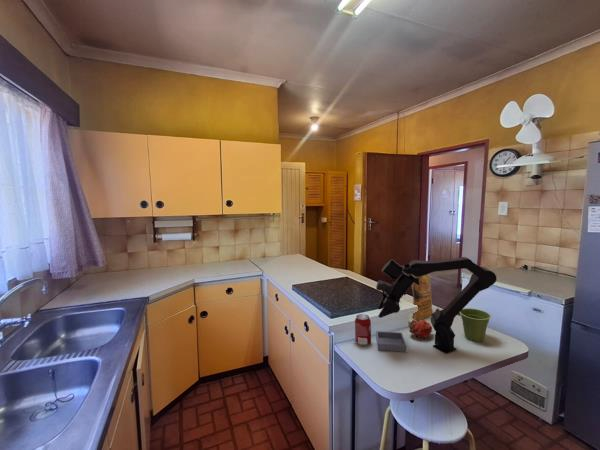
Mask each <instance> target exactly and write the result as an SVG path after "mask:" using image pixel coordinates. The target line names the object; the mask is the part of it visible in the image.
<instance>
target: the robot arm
mask: <svg viewBox="0 0 600 450" xmlns="http://www.w3.org/2000/svg"><path fill="white" fill-rule="evenodd" d="M462 269H464V270H467V271H469V272H470V273H472V274H471V275H470V279H469V280H468V284H467V285H466V286H464V288H463V289H462V290H461V291H460V292H459V293H458V294H456V296H455V297H454V298H453V299H452V300H451V301H450V303H449V304H448V305H447V306H446V307H445V308H442V309H439V308H436V309H435V311H434V312H433V314H431V317H430V323H431V324H430V325H431V327H432V329H434V331H435V333H434V344H433V345H432V347H433V348H435V349H436V350H437V351H440V352H441V353H444V354H446V355H447V354H450V353H452V352H455V351H457V348H456V347H455V337H456V334H455V332H454V330H453V329H452V326H453V323H454V320H455V318H456V317H457V315H458V314H460V313H459V312H460V311H461V310H462V309H465V307H466V306H467V305H468V304H469V303H470V302H471V301H472V300H473V299H474V298H475V297H476V295H478V294H479V293H480V292H482V291H484V290H487V289H489V288H490V287H491V286H493V285H494V284H495V283H496V282H497V275H496V273H495V272H494V271H493V270H490V269H488V268H487V267H484V266H479V265H478V264H476V263H475V262H474V261H473V260H471V259H470V258H468V257H466V256H462V257H458V258H447V259H439V260H430V261H429V260H423V259H421V260H420V259H413V260H411V261H410V262H409V263H406V264H405V263H404V264H402V265H400V264H399V263H397V262H396V261H395V260H394V259H393V258H390V260H389V261H388V262H386V263H385V264H384V266H383V267H382V269H381V272H382V273H383V274H385V275H386V276H388V277H389V278H390V279H392V280H394V279H395V280H396V281H393V282H391V283H389V282H387V281H385V280H380V279H378V280H377V283H376V285H375V288H376V290H377V291H379V292H380V291H382V298H381V300H380V303H379V304H378V307H377V309H378V310H380V312H379V314H378V317H379V319H381V318H384V317H386V316H389V315H392V314H398V312H400V310H401V306H400V302H401V298H402V297H403V296H406V294H407V292H408V291H409V289H410V288H411V285H412V284H413V283H416V284H417V285H419V278H418V277H420V276H424V275H427V274H429V275H430V274H431V273H434V272H443V271H453V270H462ZM411 274H412V275H413V276H412V275H411ZM414 276H415V277H414ZM378 317H377V318H378Z"/></svg>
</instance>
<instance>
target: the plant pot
mask: <svg viewBox="0 0 600 450" xmlns="http://www.w3.org/2000/svg"><path fill="white" fill-rule="evenodd" d="M458 314H460V317H461V320H462V326H463V332H464V333H463V334H464V337H465V338H466V339H467V340H470V341H475V342H477V343H478V342H483V341H484V340H485V337H486V336H485V335H486V333H487V328H488V325H489V321H490V319H492V316H491V314H490V313H488V312H487V311H485V310H481V309H477V308H472V307H471V308H469V307H468V308H467V307H466V308H465V307H464V308H463V309H462V310H461V311H460V312H459V313H458Z"/></svg>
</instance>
